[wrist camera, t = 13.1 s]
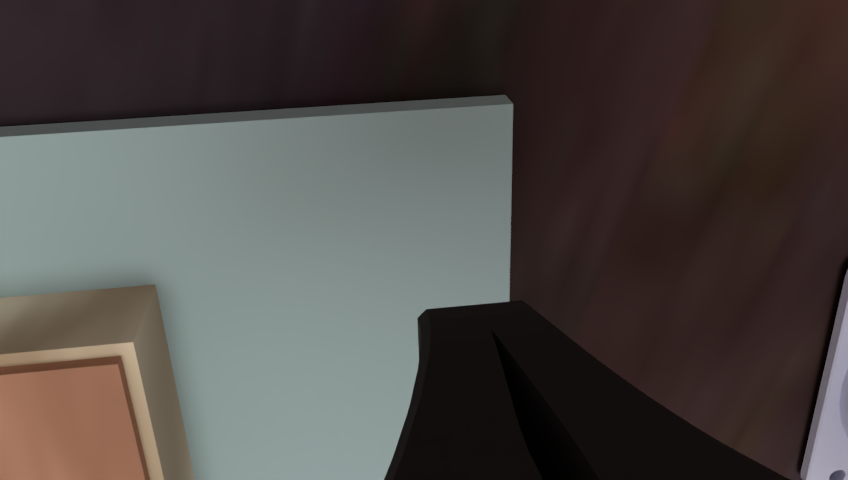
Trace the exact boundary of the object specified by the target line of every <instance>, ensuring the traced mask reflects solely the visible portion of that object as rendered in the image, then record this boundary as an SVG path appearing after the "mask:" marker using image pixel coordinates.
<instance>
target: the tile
mask: <svg viewBox="0 0 848 480" xmlns="http://www.w3.org/2000/svg"><path fill="white" fill-rule="evenodd" d="M0 480H195V478H194V473H193V468H192V463H191V458H190V453H189V448H188V443H187V438H186V433H185V428H184V423H183V419H182V414H181V409H180V404H179V399H178V394H177V389H176V384H175V379H174V374H173V369H172V364H171V359H170V354H169V349H168V344H167V339H166V335H165V330H164V325H163V320H162V315H161V310H160V305H159V300H158V295H157V290H156V285H144V286H132V287H121V288H109V289H97V290H85V291H74V292H62V293H50V294H38V295H27V296H15V297H3V298H0Z"/></svg>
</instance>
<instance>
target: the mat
mask: <svg viewBox="0 0 848 480" xmlns="http://www.w3.org/2000/svg"><path fill="white" fill-rule="evenodd" d="M512 141H513V103H512V102H511V101H510V100H509V98H508V97H507V96H506V95H494V96H478V97H463V98H447V99H431V100H415V101H400V102H384V103H368V104H352V105H337V106H321V107H305V108H289V109H274V110H258V111H242V112H226V113H211V114H195V115H179V116H163V117H148V118H132V119H116V120H100V121H85V122H69V123H53V124H37V125H22V126H6V127H0V298H3V297H15V296H27V295H38V294H50V293H62V292H74V291H85V290H97V289H109V288H121V287H132V286H144V285H156V290H157V295H158V300H159V305H160V310H161V315H162V320H163V325H164V330H165V335H166V339H167V344H168V349H169V354H170V359H171V364H172V369H173V374H174V379H175V384H176V389H177V394H178V399H179V404H180V409H181V414H182V419H183V423H184V428H185V433H186V438H187V443H188V448H189V453H190V458H191V463H192V468H193V473H194V478H195V480H384V478H385V476H386V473H387V471H388V468H389V466H390V463H391V461H392V458H393V455H394V452H395V449H396V446H397V443H398V440H399V437H400V434H401V431H402V428H403V425H404V422H405V419H406V416H407V413H408V409H409V406H410V402H411V397H412V393H413V388H414V384H415V379H416V375H417V371H418V364H419V346H418V320H417V318H418V317H419V316H420V315H421V314H422V313H423V312H424V311H425V310H426V309H433V308H444V307H455V306H466V305H477V304H488V303H499V302H509V296H510V245H511V193H512Z"/></svg>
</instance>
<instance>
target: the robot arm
mask: <svg viewBox="0 0 848 480" xmlns="http://www.w3.org/2000/svg"><path fill="white" fill-rule="evenodd" d="M417 320H418V346H419V364H418V371H417V375H416V379H415V384H414V388H413V393H412V397H411V402H410V406H409V409H408V413H407V416H406V419H405V422H404V425H403V428H402V431H401V434H400V437H399V440H398V443H397V446H396V449H395V452H394V455H393V458H392V461H391V463H390V466H389V468H388V471H387V473H386V476H385V478H384V480H790V479H788V478H786V477H784V476H782V475H780V474H778V473H776V472H774V471H772V470H771V469H769V468H767V467H765V466H763V465H761V464H760V463H758V462H756V461H754V460H752V459H750V458H749V457H747V456H745V455H743V454H741V453H739V452H738V451H736V450H734V449H732V448H730V447H728V446H727V445H725V444H723V443H721V442H720V441H718V440H716V439H714V438H713V437H711V436H709V435H708V434H706V433H704V432H703V431H701V430H699V429H698V428H696V427H694V426H693V425H691V424H690V423H688V422H687V421H685V420H684V419H682V418H681V417H679V416H677V415H676V414H674V413H673V412H671V411H670V410H668V409H667V408H665V407H664V406H662V405H660V404H659V403H657V402H656V401H654V400H653V399H651V398H650V397H648V396H647V395H646V394H644V393H643V392H641V391H640V390H638V389H637V388H635V387H634V386H633V385H631V384H630V383H628V382H627V381H626V380H624V379H623V378H621V377H620V376H619V375H617V374H616V373H615V372H613V371H612V370H611V369H609V368H608V367H606V366H605V365H604V364H602V363H601V362H600V361H598V360H597V359H596V358H595V357H593V356H592V355H591V354H589V353H588V352H587V351H585V350H584V349H583V348H582V347H580V346H579V345H578V344H577V343H575V342H574V341H573V340H571V339H570V338H569V337H568V336H566V335H565V334H564V333H563V332H561V331H560V330H559V329H558V328H556V327H555V326H554V325H553V324H551V323H550V322H549V321H548V320H546V319H545V318H544V317H543V316H541V315H540V314H539V313H538V312H536V311H535V310H534V309H533V308H531V307H530V306H529V305H527V304H526V303H525V302H523V301H522V300H521V301H510V302H499V303H488V304H477V305H466V306H455V307H444V308H433V309H426V310H425V311H424V312H423V313H422V314H421V315H420V316H419V317H418V318H417ZM801 478H802V480H848V269H847V272H846V275H845V279H844V284H843V288H842V292H841V297H840V301H839V306H838V310H837V314H836V319H835V323H834V328H833V332H832V336H831V341H830V345H829V349H828V354H827V358H826V363H825V367H824V371H823V376H822V380H821V385H820V389H819V393H818V398H817V402H816V407H815V411H814V415H813V420H812V424H811V429H810V433H809V437H808V442H807V446H806V451H805V455H804V459H803V464H802V468H801Z"/></svg>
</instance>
